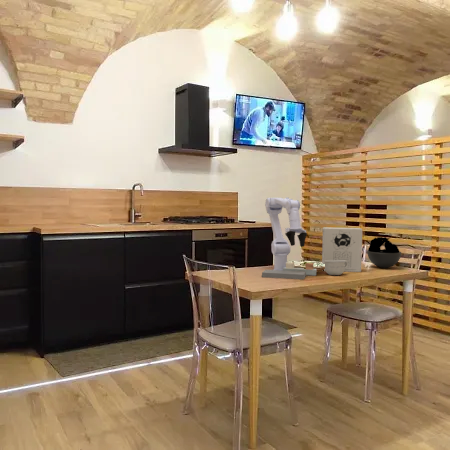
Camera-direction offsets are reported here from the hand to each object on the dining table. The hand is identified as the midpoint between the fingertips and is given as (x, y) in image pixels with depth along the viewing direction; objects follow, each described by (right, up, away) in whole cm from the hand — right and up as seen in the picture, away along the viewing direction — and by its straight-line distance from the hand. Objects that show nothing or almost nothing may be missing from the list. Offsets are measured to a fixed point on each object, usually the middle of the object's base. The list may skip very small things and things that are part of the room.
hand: (297, 245), depth 250 cm
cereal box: (+29, -16, +25) cm, 41 cm away
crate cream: (-3, -13, +11) cm, 17 cm away
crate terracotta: (+8, -13, +9) cm, 18 cm away
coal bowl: (+59, -15, +38) cm, 72 cm away
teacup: (+23, -17, +10) cm, 30 cm away
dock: (-7, -16, 0) cm, 18 cm away
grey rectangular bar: (+3, -16, +10) cm, 19 cm away
